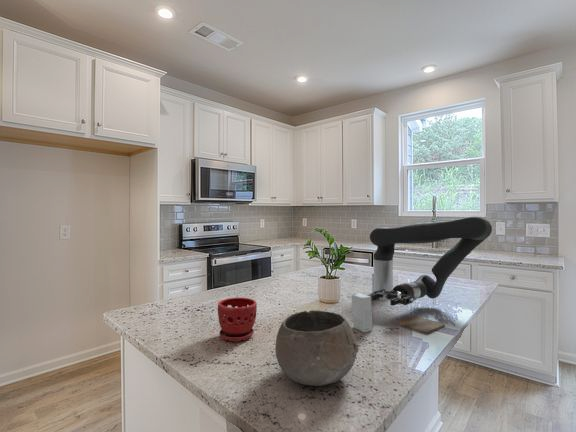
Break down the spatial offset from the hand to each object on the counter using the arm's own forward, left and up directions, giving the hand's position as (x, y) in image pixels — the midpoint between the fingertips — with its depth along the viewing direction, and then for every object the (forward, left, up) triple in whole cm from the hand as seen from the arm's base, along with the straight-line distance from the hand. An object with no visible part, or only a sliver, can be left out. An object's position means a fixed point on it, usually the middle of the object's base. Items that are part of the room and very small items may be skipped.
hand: (381, 300), depth 119 cm
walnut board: (+11, +8, -8) cm, 16 cm away
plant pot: (-22, -49, -9) cm, 54 cm away
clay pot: (+14, -45, -9) cm, 47 cm away
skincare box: (0, -11, -9) cm, 14 cm away
